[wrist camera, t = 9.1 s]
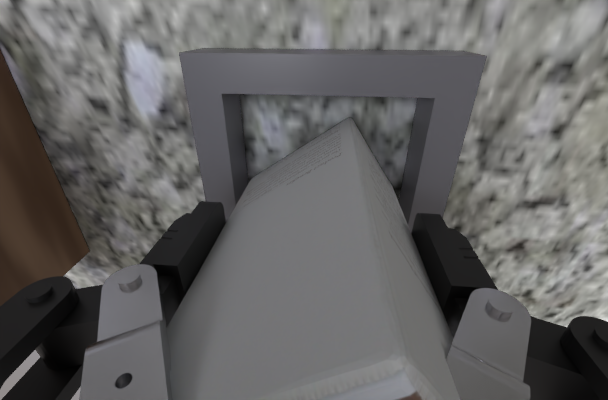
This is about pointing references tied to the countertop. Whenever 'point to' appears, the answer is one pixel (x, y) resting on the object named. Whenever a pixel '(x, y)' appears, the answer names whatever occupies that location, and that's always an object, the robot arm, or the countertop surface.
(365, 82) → the socket
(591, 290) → the countertop surface
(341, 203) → the skincare box
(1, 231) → the awning stand
